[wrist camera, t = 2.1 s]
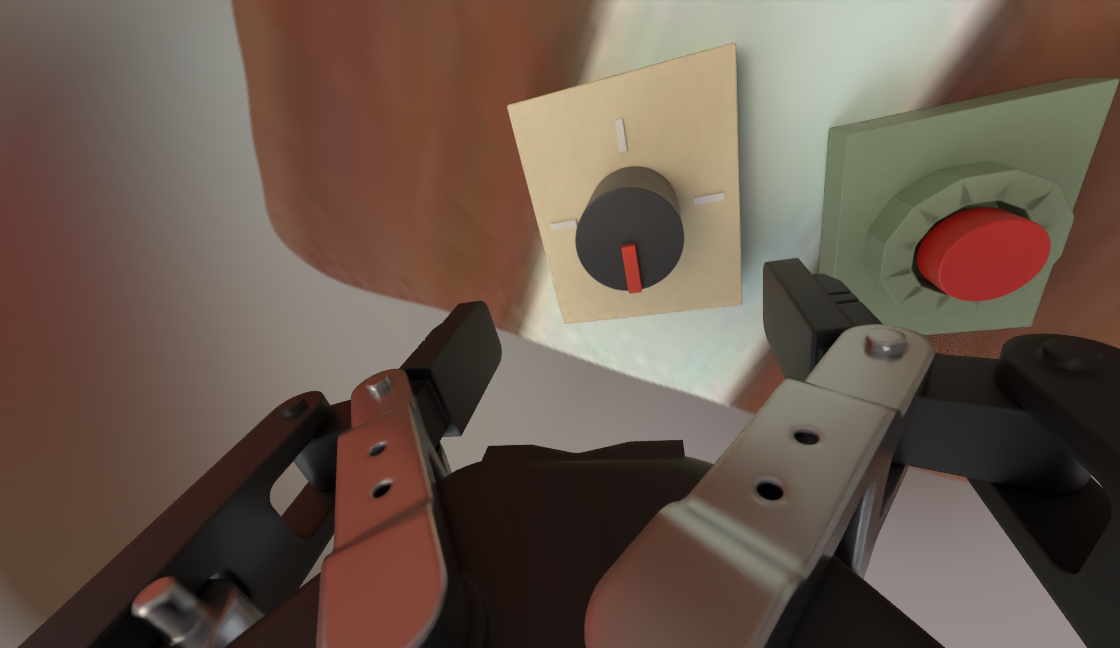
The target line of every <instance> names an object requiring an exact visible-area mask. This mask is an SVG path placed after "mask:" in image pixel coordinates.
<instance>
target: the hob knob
mask: <svg viewBox="0 0 1120 648" xmlns="http://www.w3.org/2000/svg"><path fill="white" fill-rule="evenodd" d="M575 245H576V251H577V255H578V258H579V260H580V262H581V264H582V266H583V267H584V269H585V270H586V271H587V273H588V274H589V275H590V276H591V277H592V278H594V279H595V280H596V281H598V282H599V283H601V284H603V285H604V286H607V287H609V288H612V289H616V290H621V291H629V294H632V293H639V292H642V289H645V288H648V287H651V286H653V285H655V284H657V283H659V282H660V281H662V280H663V279H664V278H666V277H667V276H668V275H669V274H670V273H671V272H672V270H673V269H674V268H675V267H676V265H677V263H678V261H679V259H680V257H681V255H682V251H683V247H684V230H683V224H682V220H681V215H680V210H679V205H678V201H677V197H676V194H675V191H674V189H673V187H672V186H671V184H670V183H669V182H668V181H667V179H666V178H665V177H663V176H662V175H661V174H659V173H658V172H656V171H654V170H652V169H649V168H646V167H640V166H631V167H625V168H621V169H618V170H616V171H614V172H612V173H610V174H609V175H607V176H606V177H605V178H604V179H603V180H602V181H601V182H600V183H599V184H598V185H597V187H596V188H595V190H594V192H593V194H592V196H591V198H590V200H589V202H588V204H587V206H586V208H585V210H584V212H583V214H582V216H581V218H580V220H579V223H578V225H577V229H576V236H575Z"/></svg>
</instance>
